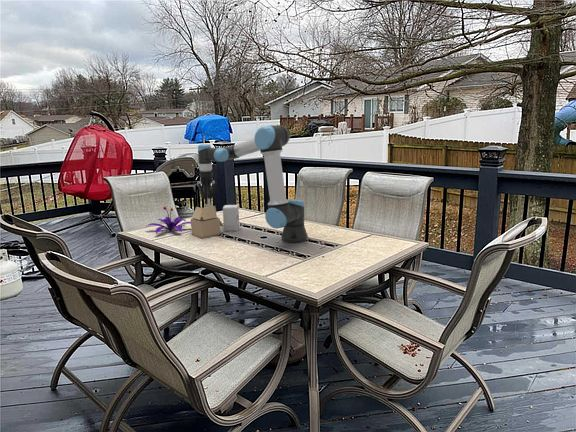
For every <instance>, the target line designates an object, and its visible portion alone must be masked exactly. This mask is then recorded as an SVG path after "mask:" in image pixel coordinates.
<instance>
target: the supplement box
mask: <svg viewBox="0 0 576 432" xmlns="http://www.w3.org/2000/svg"><path fill="white" fill-rule="evenodd" d="M239 210H240V209H239V204H225V205H223V207H222V220H223V221H222V224H223V225H224V227H223V232H237V231H238V230H239V229H240V211H239Z"/></svg>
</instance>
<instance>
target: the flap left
mask: <svg viewBox="0 0 576 432" xmlns="http://www.w3.org/2000/svg"><path fill="white" fill-rule="evenodd" d="M201 208H202V207H199V206H196V207H195V209H194V212H193V214H192V216H191V218H195V219H198V220H200V219H201V217H202V216H203V215H202V210H201Z"/></svg>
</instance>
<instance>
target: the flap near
mask: <svg viewBox="0 0 576 432" xmlns="http://www.w3.org/2000/svg"><path fill="white" fill-rule="evenodd" d="M200 208H201V210H202V216H203V220H206V219H211V218H216V217H218V215H217V209H216V205H210V207H206V206H205V207H200Z"/></svg>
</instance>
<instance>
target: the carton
mask: <svg viewBox="0 0 576 432" xmlns="http://www.w3.org/2000/svg"><path fill="white" fill-rule="evenodd" d="M190 222H191V224H190V228H191V229H190V230H191V235H193V236H195V237H197V238H200V239H208V238H211V237H215V236H220V235H221V228H224V223H223V221H222V220H221V219H220V217H218V216H217V217H216V218H211V219H206V220H203V215H202V217H201V219H200V220H198V219H195V218H192V217H191V218H190Z"/></svg>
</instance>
